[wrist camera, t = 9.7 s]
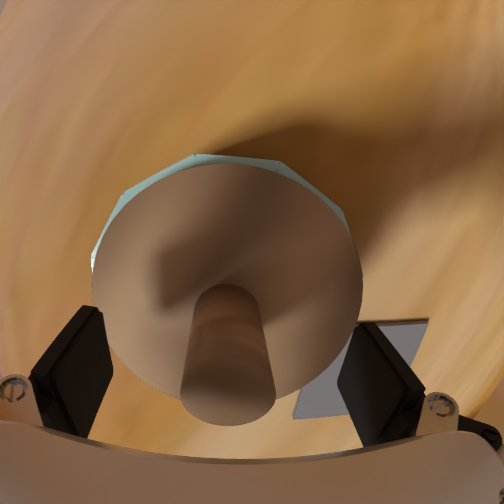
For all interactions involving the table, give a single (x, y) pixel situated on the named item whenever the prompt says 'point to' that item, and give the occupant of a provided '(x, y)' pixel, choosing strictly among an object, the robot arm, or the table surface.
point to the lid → (227, 288)
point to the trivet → (325, 385)
